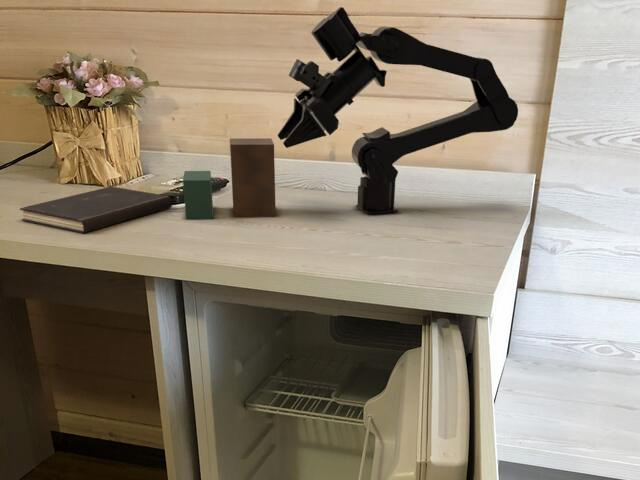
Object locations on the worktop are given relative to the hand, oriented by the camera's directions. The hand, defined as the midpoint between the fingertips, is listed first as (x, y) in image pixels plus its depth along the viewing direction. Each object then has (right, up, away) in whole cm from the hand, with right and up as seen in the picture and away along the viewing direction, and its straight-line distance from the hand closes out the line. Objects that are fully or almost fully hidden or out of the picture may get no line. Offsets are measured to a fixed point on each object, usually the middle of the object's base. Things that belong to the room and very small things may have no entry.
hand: (281, 141), depth 138 cm
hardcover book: (-35, -13, +3) cm, 37 cm away
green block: (-16, -12, +5) cm, 21 cm away
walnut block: (-6, -11, +7) cm, 14 cm away
